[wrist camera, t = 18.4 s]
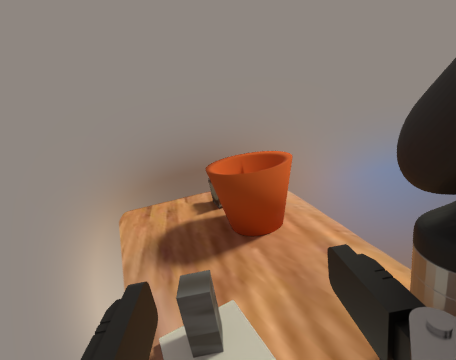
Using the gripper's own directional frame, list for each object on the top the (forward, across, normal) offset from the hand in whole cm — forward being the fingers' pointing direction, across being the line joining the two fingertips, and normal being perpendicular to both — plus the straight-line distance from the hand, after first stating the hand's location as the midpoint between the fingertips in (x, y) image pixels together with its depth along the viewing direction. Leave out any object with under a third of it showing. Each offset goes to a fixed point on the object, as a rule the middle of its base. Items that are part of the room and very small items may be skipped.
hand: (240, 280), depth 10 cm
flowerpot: (+58, -8, +28) cm, 65 cm away
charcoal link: (+20, +7, +27) cm, 34 cm away
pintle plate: (+14, +4, +28) cm, 32 cm away
